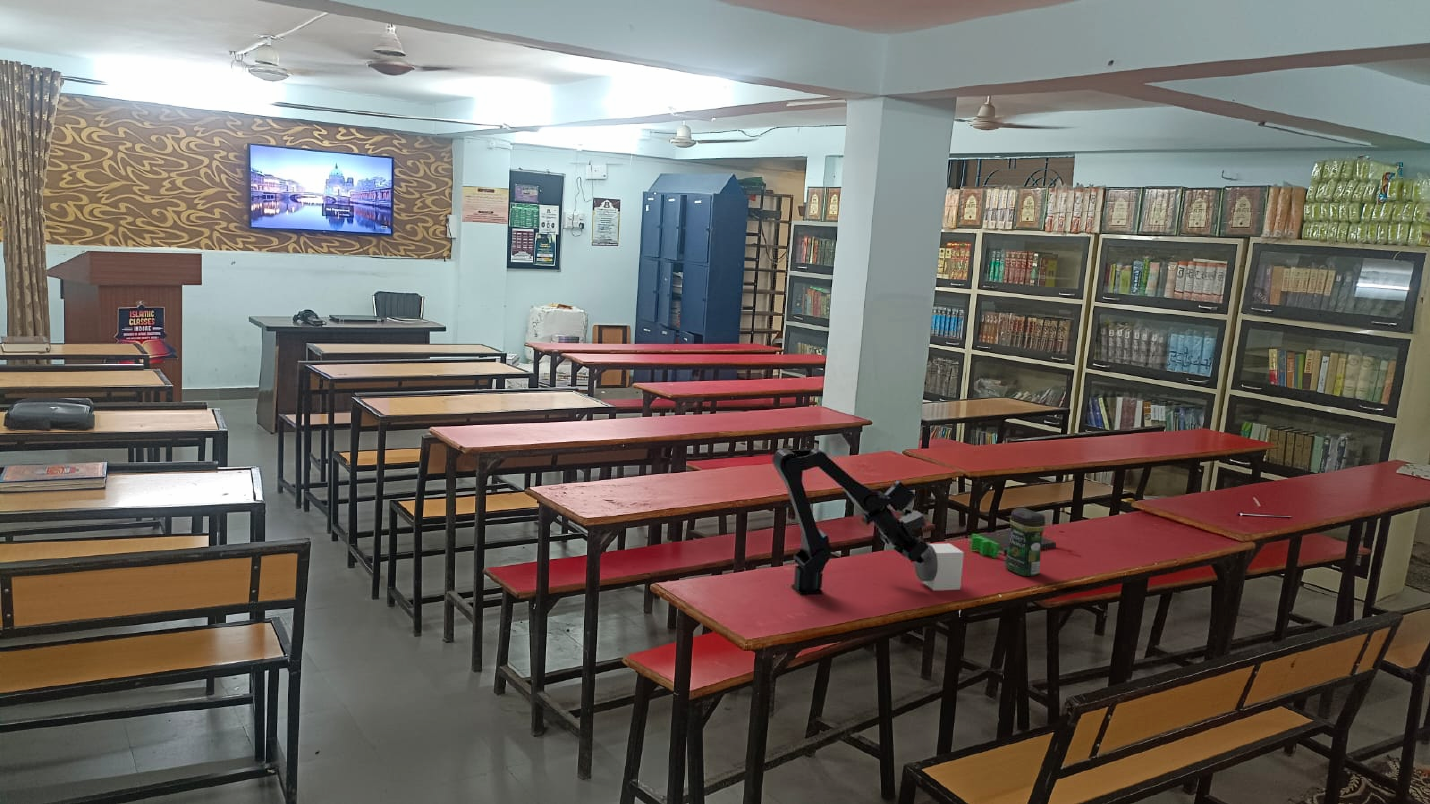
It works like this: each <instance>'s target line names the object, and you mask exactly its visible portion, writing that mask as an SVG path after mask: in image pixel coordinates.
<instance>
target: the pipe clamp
mask: <svg viewBox="0 0 1430 804" xmlns="http://www.w3.org/2000/svg"><path fill="white" fill-rule="evenodd" d="M971 535H972V539H971V542H970V550H978V551H980V552H979V553H980V554H981V555H985V556H989V555H990V556H989V557H991V556H992V558H994V559H997V557H998V558H999V553H998V551H999V544H998V543H996V542H993V541H991V540H989V539H986V538H984V537H982V536H979V535H978V534H977V533H972V534H971ZM980 554H979V555H980ZM981 555H980V556H981Z"/></svg>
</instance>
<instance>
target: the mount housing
mask: <svg viewBox="0 0 1430 804" xmlns="http://www.w3.org/2000/svg"><path fill="white" fill-rule="evenodd" d="M928 544H929V545H931V546H932V547H933V548H934V550H935V553H936V556H937V563H938V568H937V574H936V577H935V578H934V580H932V581H921V580H920V579H919V581H920V582H921V583H923V584H925V585H926V586H927V587H928V588H929V589H931V590H932V591H950V590H951V591H952V590H953V591H954V590H961V586H962V585H961V584H962V583H961V582H962V574H963V565H964V554H965V553H964V551H963V550H961V549H959V548H958V547H956V546H954V545H953V544H952V543H928Z"/></svg>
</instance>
